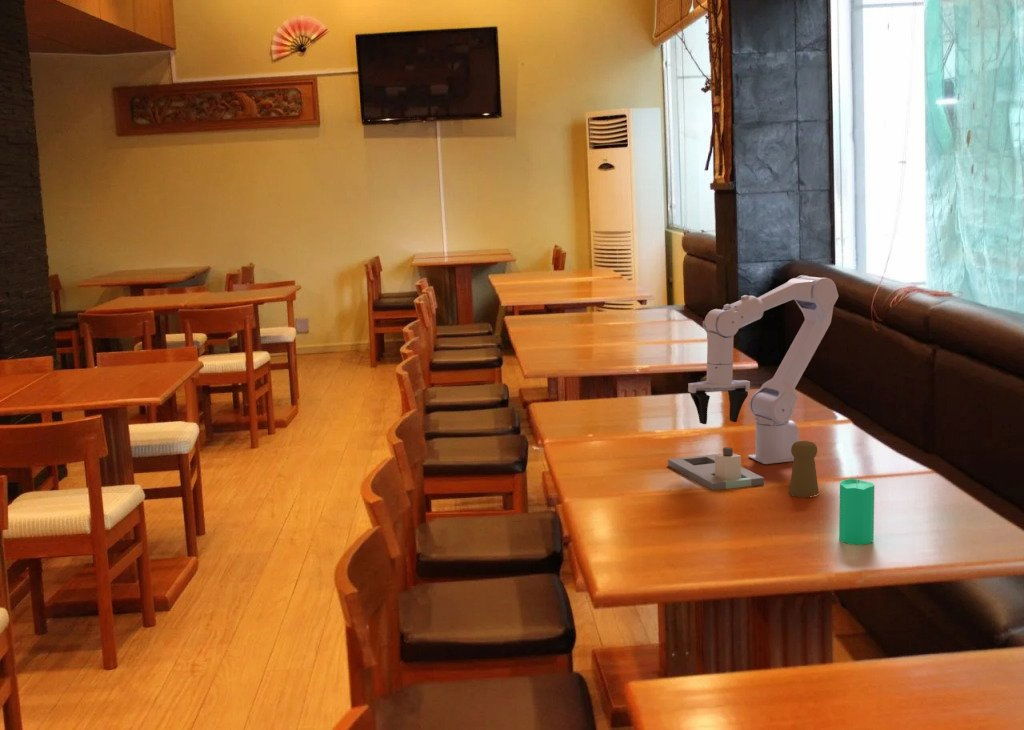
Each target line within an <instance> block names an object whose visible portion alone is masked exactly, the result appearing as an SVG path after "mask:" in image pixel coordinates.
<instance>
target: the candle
mask: <svg viewBox="0 0 1024 730" xmlns="http://www.w3.org/2000/svg"><path fill="white" fill-rule="evenodd" d="M838 514H839V523H838V524H839V525H838V527H839V529H838V530H839V531H838V538H839V541H840V542H842V543H844V542H845V543H844V544H847V543H848V545H852V544H853V546H863V545H862V544H865V545H869V544H868V543H870V544H872V543H873V542H874V535H875V533H874V531H875V527H874V525H875V484H874V483H873V482H869V481H865V480H861V479H858V474H857V475H856V479H855V478H847V479H843V480H841V481H839V513H838ZM872 541H873V542H872ZM871 542H872V543H871ZM856 544H858V545H856Z"/></svg>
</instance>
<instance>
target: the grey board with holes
mask: <svg viewBox="0 0 1024 730" xmlns="http://www.w3.org/2000/svg"><path fill="white" fill-rule="evenodd" d="M715 454H716V453H714V454H704V455H697V456H695V455H694V456H686V457H678V458H677V457H676V458H667V465H668V466H667V467H670V468H672V469H673V470H675V471H677V472H679V473H681V474H682V475H685V476H686V477H688V478H689V479H691V480H693V481H695V482H697V483H698V484H701V485H702V486H703V487H706V488H707V489H709V490H711V491H721V490H727V489H728V490H730V489H735V488H736V489H738V488H745V487H746V488H747V487H755V486H763V485H765V477H763V476H762V475H760V474H757V473H755V472H753V471H751V470H749V469H747V468H745V467H743V466H741V478H739V479H731V480H721V479H719V478H717V477H715Z"/></svg>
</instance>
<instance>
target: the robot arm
mask: <svg viewBox="0 0 1024 730" xmlns="http://www.w3.org/2000/svg"><path fill="white" fill-rule="evenodd" d="M838 298H839V292H838V290H837V285H836V283H835V282H834V281H833V279H831V278H828V277H818V276H817V277H816V276H809V275H805V274H801V275H798V276H797V277H793V278H791V279H789V280H788V281H787V282H785V283H783V284H781V285H779V286H777V287H775V288H774V289H773V288H772V290H769V291H768V292H766V293H764V294H762V295H760V296H758V297H757V296H755V295H749V294H748V295H747V294H744V295H742V296H740V299H739V300H738V301H735V302H732V303H730V304H729V303H726V304H724V305H723V308H722V309H720V308H719V309H718V308H715V309H712V310H710V311H709V312H707V314H706V316H705V318H704V320H702V327H703V329H704V331H705V332H706V339H707V347H706V349H707V350H706V351H707V353H706V354H707V355H706V380H704V381H697V382H690V383H689V382H688V384H687V385H688V387H687V392H689V394H690V397H691V399H692V400H693V401H692V402H693V403H694V406H695V408H696V411H697V416H698V419H699V423H700V424H702V425H707V423H708V422H707V421H708V407H709V402H710V397H711V396H710V395H709V394H707V392H720V391H721V392H723V391H724V392H725V391H727V392H728V400H729V401H728V402H729V421H730V422H732V423H737V422H738V418H739V415H740V411H741V409H742V406H743V405H744V403H745V401H746V399H747V397H748V396H749V395H748V394H749V393H748V392H749V390H750V389H751V381H749V380H746V379H741V380H740V379H739V380H736V379H733V372H734V371H733V369H734V368H733V367H734V366H733V365H734V336H735V335H736V334H737V333H738V332H739V329H741V328H743V327H745V326H747V325H749V324H751V323H754V322H756V321H758V320H761V318H763V316H764V312H766V311H768V310H770V309H773V308H775V307H778V306H781V305H782V304H785V303H788V302H790V301H793V300H794V302H795V303H796V304H797V306H798V308H799V310H801V312H802V315H803V317H804V321H803V323H802V324H801V326H800V328H799V330H798V332H797V334H796V335H795V337H794V339H793V341H792V343H791V344H790V346H789V349H788V350H787V352H786V353H785V355H784V357H783V359H782V361H781V362H780V364H779V366H778V368H777V370H776V371H775V373H774V375H773V377H772V378H771V379H768V380H767V381H765V382H764V383H763V384H762V385H761V386H760V387H759V389H758V390H757V391H756V392H754V393H753V394H752V395H751V398H750V400H749V409H750V412H751V414H753V416H754V421H755V454H754V453H753V454H749V455H747V456H748V458H749V459H752V460H754V461H757V462H759V463H761V464H763V465H770V464H781V463H786V462H787V463H788V462H793V461H794V457H793V455H792V453H791V448H792V445H793V444H794V443H795V442H798V441H800V431H799V427H798V425H797V423H796V422H795V421H794V420H792V417H793V415H794V412H795V405H796V403H797V400H798V395H797V393H796V390H795V389H796V387H797V385H798V383H799V381H800V380H801V378H802V376H803V374H804V372H805V371H806V368H807V367H808V366H809V363H810V362H811V360H812V358H813V357H814V355H815V353H816V351H817V349H818V347H819V345H820V344H821V341H822V340H823V338H824V336H825V334H826V332H827V331H828V329H829V327H830V325H831V323H832V318H833V311H834V307H835V306H834V305H835V304H836V302H837V300H838Z"/></svg>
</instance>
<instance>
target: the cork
mask: <svg viewBox="0 0 1024 730" xmlns="http://www.w3.org/2000/svg"><path fill="white" fill-rule="evenodd" d="M791 453H792V455H793V457H794V461H792V468H791V476H790V483H789V490H788V494H789V495H790V496H791V495H793V496H792V497H794V496H799V497H798V498H800V497H810V496H814V495H817V494H818V493H819V494H820V492H819V486H818V485H819V484H818V476H817V469H816V461H815V459H816V456H817V455H818V454H817V453H818V447H817V445H816V444H815V442H812V441H808V440H799V441H798V442H795V443H794V444H793V445H792V448H791Z"/></svg>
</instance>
